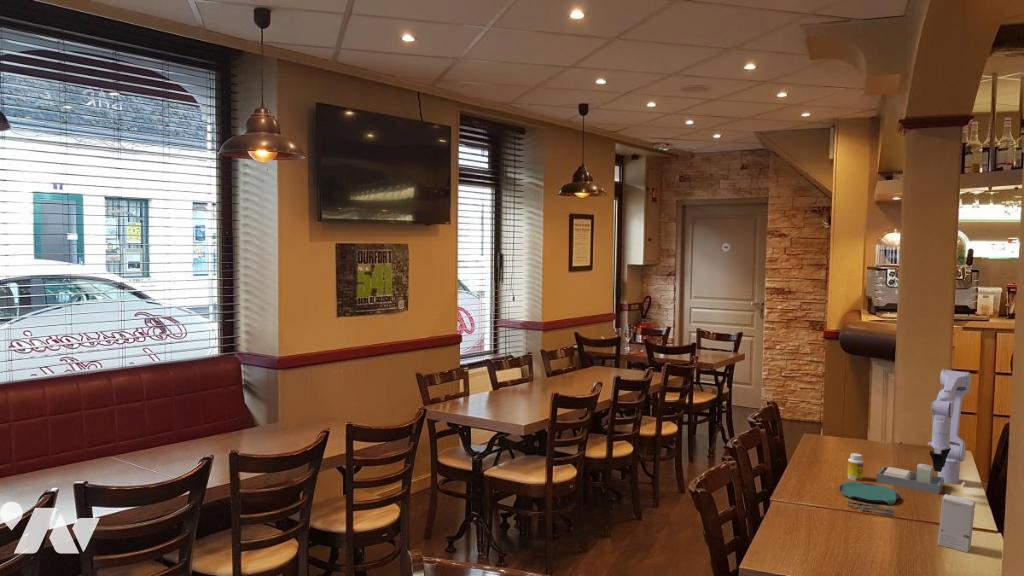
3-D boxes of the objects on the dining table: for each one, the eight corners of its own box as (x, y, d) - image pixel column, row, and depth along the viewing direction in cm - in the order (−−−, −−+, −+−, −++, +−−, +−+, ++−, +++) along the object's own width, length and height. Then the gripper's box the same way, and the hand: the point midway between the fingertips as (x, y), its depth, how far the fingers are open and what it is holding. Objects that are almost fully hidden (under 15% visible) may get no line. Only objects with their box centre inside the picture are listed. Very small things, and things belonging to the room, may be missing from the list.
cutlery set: (898, 492, 267) (898, 486, 267) (900, 520, 240) (900, 513, 240) (840, 484, 276) (840, 478, 276) (835, 509, 250) (836, 503, 249)
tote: (883, 476, 286) (883, 466, 286) (943, 487, 273) (944, 477, 273) (876, 484, 276) (876, 473, 276) (938, 496, 263) (939, 485, 263)
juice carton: (918, 483, 275) (919, 463, 275) (931, 486, 272) (932, 465, 272) (915, 486, 271) (917, 466, 271) (929, 489, 269) (930, 468, 268)
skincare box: (937, 545, 218) (940, 497, 217) (941, 539, 223) (943, 492, 222) (969, 553, 213) (972, 504, 212) (972, 547, 217) (975, 499, 217)
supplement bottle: (857, 483, 276) (858, 457, 276) (844, 479, 281) (845, 453, 280) (865, 481, 279) (866, 455, 279) (852, 477, 284) (853, 451, 284)
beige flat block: (887, 476, 283) (888, 466, 283) (910, 480, 279) (910, 470, 278) (883, 481, 276) (883, 471, 276) (906, 486, 271) (906, 476, 271)
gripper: (931, 427, 272) (929, 462, 272) (925, 434, 260) (923, 471, 261) (953, 430, 267) (951, 466, 268) (948, 438, 256) (946, 475, 257)
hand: (939, 468), depth 264 cm, fingers open, 7 cm apart
